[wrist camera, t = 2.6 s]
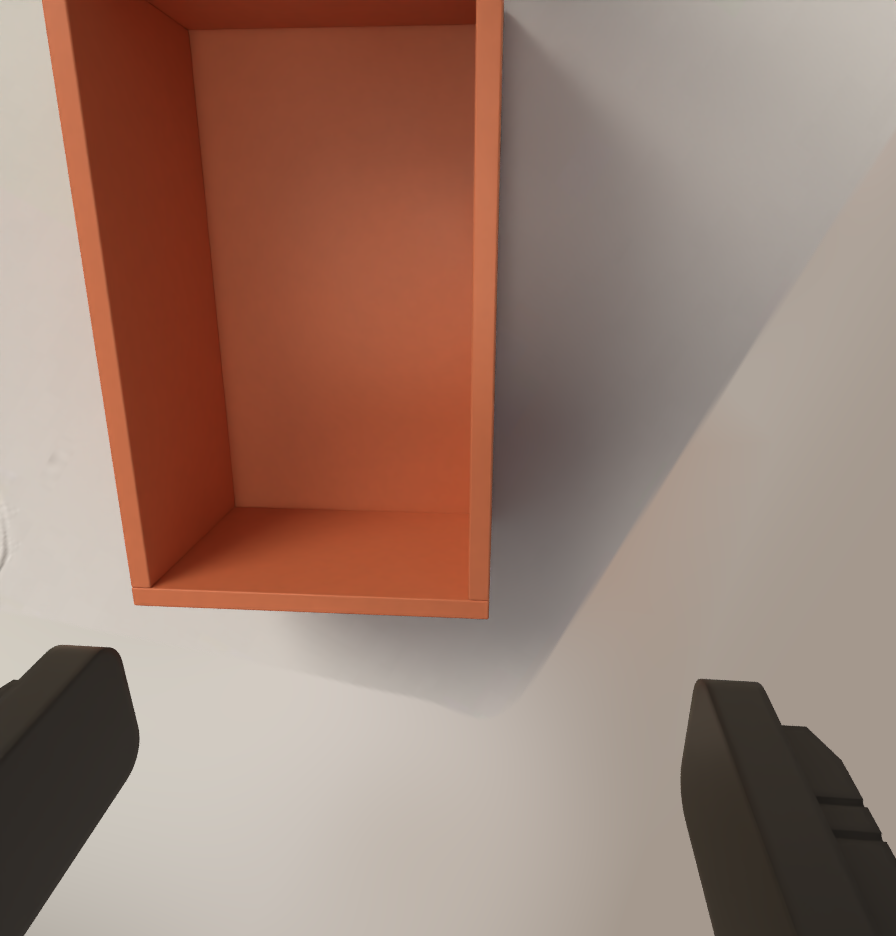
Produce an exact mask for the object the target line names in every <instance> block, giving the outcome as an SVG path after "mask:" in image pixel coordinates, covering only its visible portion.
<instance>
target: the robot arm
mask: <svg viewBox="0 0 896 936" xmlns="http://www.w3.org/2000/svg"><path fill="white" fill-rule="evenodd" d="M138 748H139V729H138V724H137V720H136V716H135V712H134V708H133V704H132V699H131V696H130V691H129V687H128V683H127V679H126V675H125V671H124V667H123V663H122V659H121V657H120V655H119V653H118V652H117V651H116V650H115V649H113V648H110V647H92V646H73V645H58V646H55V647H53V648H52V649H50V650H49V651H48V652H46V654H44V655H43V656H42V657H41V658H40V659H39V660H38V661H37V662H36V663H35V664H34V665H33V666H32V667H31V668H30V669H29V670H28V671H27V672H26V673H25V674H24V675H23V676H22V677H21V678H20V679H19V680H12V681H11V682H9V683H8V684H6V685H4V686H3V687H1V688H0V936H24V934H25V933H26V932H27V930H28V929H29V927H30V925H31V924H32V922H33V921H34V919H35V918H36V916H37V915H38V913H39V912H40V910H41V909H42V907H43V906H44V904H45V903H46V901H47V900H48V898H49V897H50V895H51V894H52V892H53V891H54V889H55V888H56V886H57V884H58V883H59V882H60V880H61V879H62V877H63V876H64V874H65V872H66V871H67V870H68V868H69V866H70V865H71V863H72V862H73V860H74V859H75V857H76V856H77V854H78V853H79V851H80V850H81V848H82V847H83V845H84V844H85V842H86V841H87V839H88V838H89V836H90V835H91V833H92V832H93V830H94V828H95V827H96V825H97V824H98V823H99V821H100V820H101V818H102V817H103V815H104V813H105V812H106V810H107V809H108V807H109V806H110V804H111V803H112V801H113V800H114V798H115V797H116V795H117V794H118V792H119V791H120V789H121V788H122V786H123V785H124V783H125V782H126V780H127V778H128V777H129V775H130V773H131V771H132V769H133V767H134V764H135V761H136V758H137V754H138ZM681 797H682V804H683V811H684V816H685V821H686V824H687V828H688V832H689V836H690V840H691V844H692V848H693V852H694V856H695V860H696V864H697V868H698V872H699V876H700V880H701V883H702V887H703V891H704V895H705V899H706V903H707V907H708V911H709V915H710V919H711V923H712V927H713V930H714V935H715V936H896V858H895V856H894V855H893V853H892V851H891V849H890V847H889V846H888V844H887V842H883V840H882V837H881V831H880V830H879V827H878V826H877V824H876V822H875V820H874V818H873V817H872V815H871V813H870V811H869V809H868V808H867V807H864V805H863V798H862V797H861V795H860V793H859V791H858V789H857V787H856V786H855V784H854V782H853V780H852V778H851V777H850V775H849V773H848V771H847V770H846V768H845V766H844V764H843V762H842V760H841V759H839V757H837V756H836V755H835V754H834V753H833V752H832V751H831V750H830V749H829V748H828V747H827V746H826V745H825V744H824V743H823V742H822V741H821V740H820V739H819V738H817V737H816V736H815V735H814V734H813V733H812V732H811V731H810V730H809V729H808V728H807V727H800V726H785V725H781V723H780V721H779V719H778V717H777V714H776V712H775V710H774V708H773V706H772V704H771V702H770V700H769V698H768V696H767V694H766V691H765V690H764V688H763V687H762V685H761V684H759V683H758V682H747V681H729V680H711V679H698V680H697V681H696V683H695V686H694V690H693V696H692V702H691V708H690V714H689V720H688V727H687V733H686V739H685V746H684V752H683V758H682V765H681Z"/></svg>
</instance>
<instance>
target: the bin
mask: <svg viewBox="0 0 896 936" xmlns="http://www.w3.org/2000/svg"><path fill="white" fill-rule="evenodd" d="M42 4H43V10H44V17H45V23H46V30H47V36H48V43H49V49H50V56H51V62H52V69H53V76H54V82H55V89H56V95H57V102H58V108H59V115H60V121H61V128H62V134H63V141H64V147H65V154H66V160H67V167H68V174H69V180H70V187H71V193H72V200H73V206H74V213H75V219H76V226H77V232H78V239H79V245H80V252H81V258H82V265H83V271H84V278H85V285H86V291H87V298H88V304H89V311H90V317H91V324H92V330H93V337H94V343H95V350H96V356H97V363H98V369H99V376H100V383H101V389H102V396H103V402H104V409H105V415H106V422H107V428H108V435H109V441H110V448H111V454H112V461H113V467H114V474H115V480H116V487H117V494H118V500H119V507H120V513H121V520H122V526H123V533H124V539H125V546H126V552H127V559H128V565H129V572H130V578H131V585H132V587H133V588H132V592H133V599H134V604H135V605H142V606H167V607H192V608H218V609H243V610H268V611H293V612H319V613H344V614H369V615H395V616H420V617H445V618H470V619H488V618H489V589H490V556H491V523H492V481H493V439H494V397H495V355H496V313H497V271H498V229H499V187H500V145H501V103H502V61H503V19H504V0H42Z"/></svg>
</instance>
